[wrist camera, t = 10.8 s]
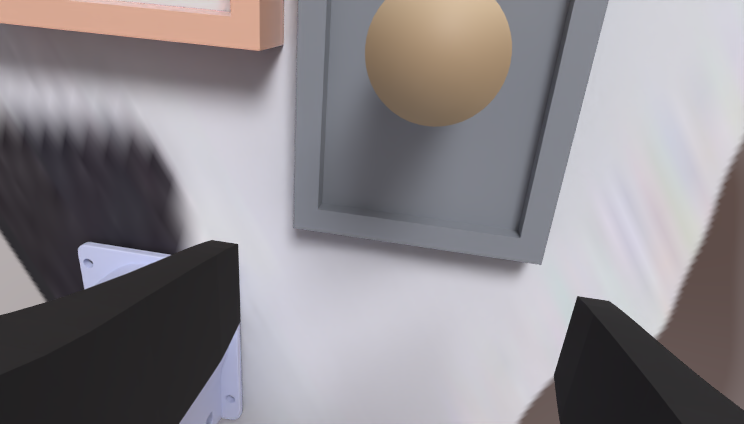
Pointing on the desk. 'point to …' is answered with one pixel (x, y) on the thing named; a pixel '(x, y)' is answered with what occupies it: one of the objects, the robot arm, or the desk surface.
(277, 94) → the desk surface
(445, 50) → the dowel pin
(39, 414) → the robot arm
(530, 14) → the grey tray
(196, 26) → the salmon square tray
